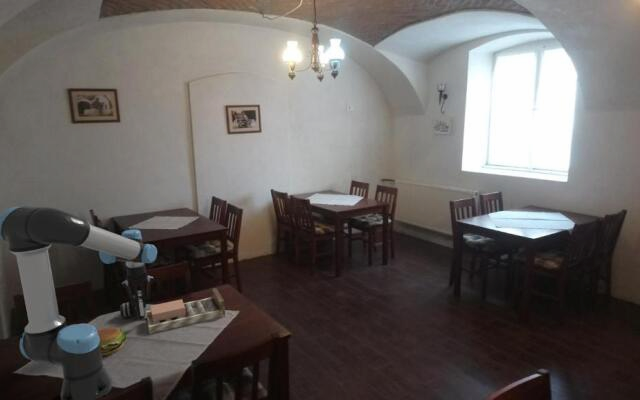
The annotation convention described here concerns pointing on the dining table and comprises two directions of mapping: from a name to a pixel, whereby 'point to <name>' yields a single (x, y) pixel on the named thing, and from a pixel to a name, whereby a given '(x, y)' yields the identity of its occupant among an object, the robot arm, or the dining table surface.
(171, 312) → the slab
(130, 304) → the camera
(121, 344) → the food
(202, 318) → the roller bed
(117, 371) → the dining table surface
